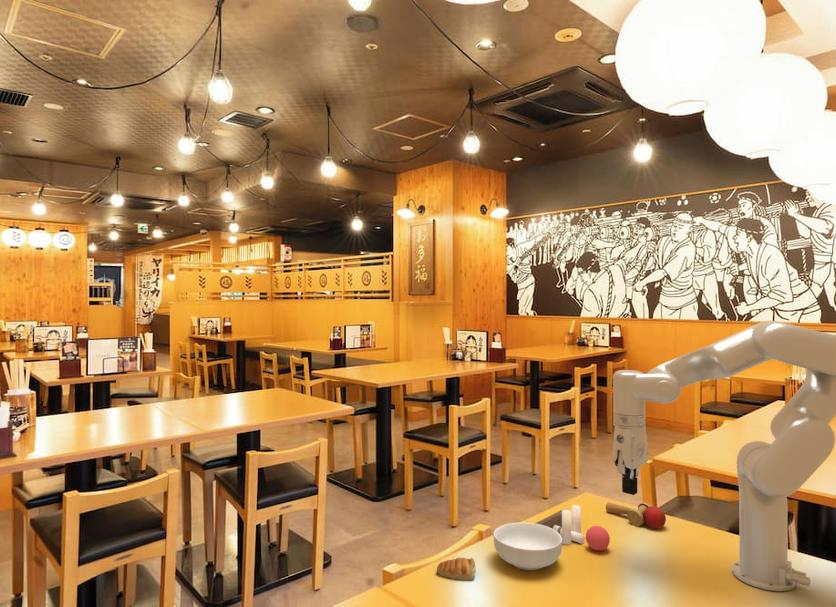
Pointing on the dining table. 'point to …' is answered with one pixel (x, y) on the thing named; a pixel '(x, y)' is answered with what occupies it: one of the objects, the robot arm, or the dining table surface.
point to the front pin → (574, 535)
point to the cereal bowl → (527, 545)
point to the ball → (597, 538)
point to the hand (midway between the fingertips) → (629, 492)
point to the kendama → (640, 514)
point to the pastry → (458, 569)
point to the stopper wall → (552, 520)
